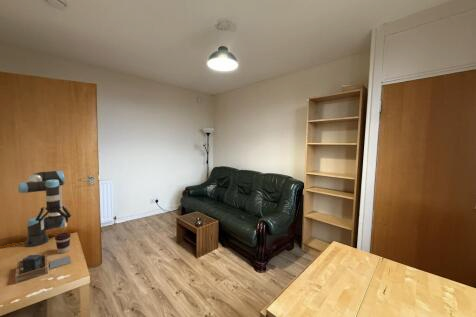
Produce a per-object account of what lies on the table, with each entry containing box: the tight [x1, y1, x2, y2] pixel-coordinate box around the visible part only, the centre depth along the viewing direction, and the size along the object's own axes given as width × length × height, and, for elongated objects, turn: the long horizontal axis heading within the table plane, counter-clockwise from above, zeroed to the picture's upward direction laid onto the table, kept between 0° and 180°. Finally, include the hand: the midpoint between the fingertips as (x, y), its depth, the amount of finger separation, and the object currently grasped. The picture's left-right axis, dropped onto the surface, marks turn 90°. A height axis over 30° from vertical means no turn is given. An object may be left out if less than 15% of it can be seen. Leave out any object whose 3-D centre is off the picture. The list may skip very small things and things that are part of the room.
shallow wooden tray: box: [14, 253, 49, 284], centre depth 146 cm, size 22×15×5 cm
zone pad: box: [49, 255, 72, 270], centre depth 156 cm, size 12×12×1 cm
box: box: [22, 254, 43, 274], centre depth 146 cm, size 8×6×11 cm
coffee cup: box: [54, 232, 71, 254], centre depth 171 cm, size 10×10×15 cm
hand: (54, 227), depth 154 cm, fingers open, 13 cm apart
